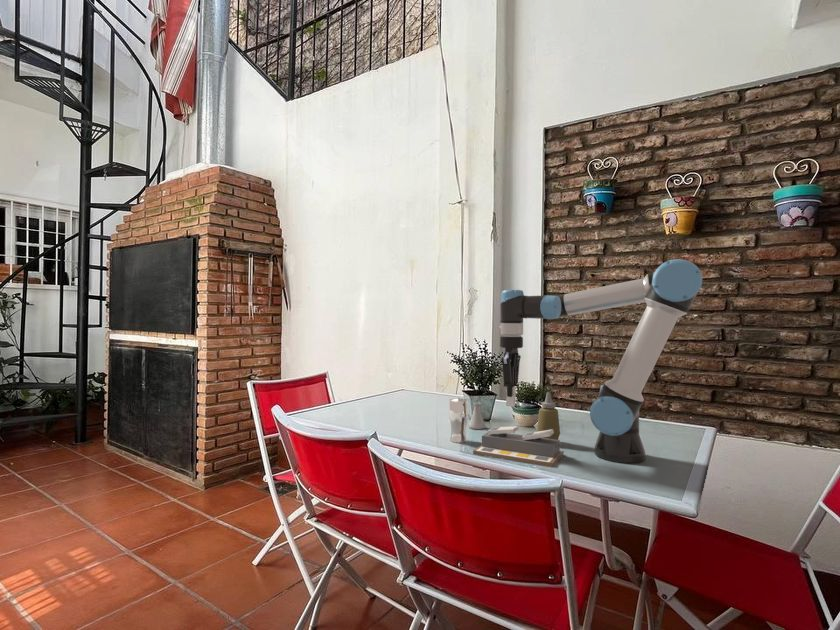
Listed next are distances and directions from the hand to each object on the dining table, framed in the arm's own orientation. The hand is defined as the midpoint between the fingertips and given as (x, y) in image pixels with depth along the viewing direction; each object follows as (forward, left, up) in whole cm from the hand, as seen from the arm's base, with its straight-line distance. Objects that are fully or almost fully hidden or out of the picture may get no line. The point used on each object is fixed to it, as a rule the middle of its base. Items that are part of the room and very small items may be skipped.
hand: (510, 405), depth 154 cm
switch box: (-3, +2, -15) cm, 16 cm away
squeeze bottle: (-8, -17, -16) cm, 24 cm away
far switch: (+3, 0, -9) cm, 9 cm away
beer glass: (+21, -3, -16) cm, 26 cm away
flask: (+23, -25, -16) cm, 37 cm away
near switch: (-9, 0, -9) cm, 13 cm away
